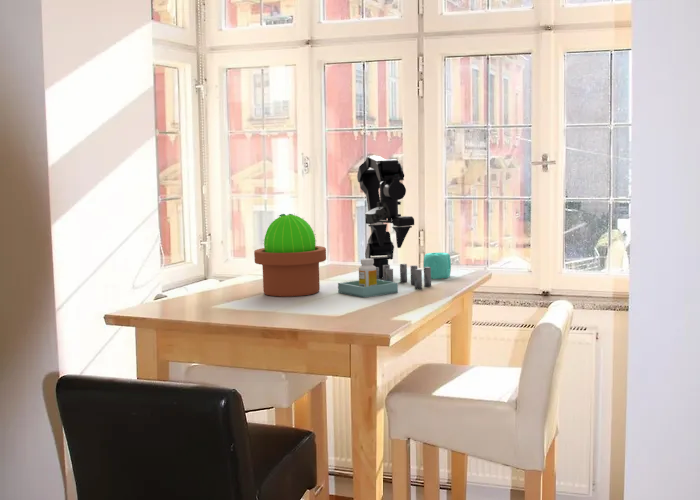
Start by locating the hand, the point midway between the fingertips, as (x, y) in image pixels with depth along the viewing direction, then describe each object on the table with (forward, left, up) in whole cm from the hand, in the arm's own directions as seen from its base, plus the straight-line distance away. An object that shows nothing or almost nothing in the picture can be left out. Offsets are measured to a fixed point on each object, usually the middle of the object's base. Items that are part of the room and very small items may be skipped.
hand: (390, 246), depth 288 cm
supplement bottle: (+9, -16, -12) cm, 22 cm away
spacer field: (+7, -1, -12) cm, 14 cm away
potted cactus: (-8, -33, -12) cm, 36 cm away
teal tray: (+9, -16, -12) cm, 23 cm away
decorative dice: (0, +20, -12) cm, 23 cm away
